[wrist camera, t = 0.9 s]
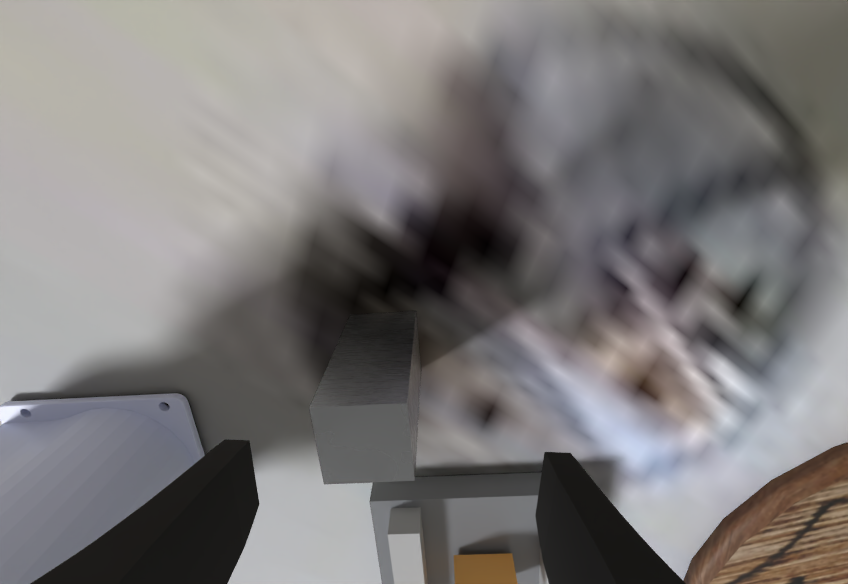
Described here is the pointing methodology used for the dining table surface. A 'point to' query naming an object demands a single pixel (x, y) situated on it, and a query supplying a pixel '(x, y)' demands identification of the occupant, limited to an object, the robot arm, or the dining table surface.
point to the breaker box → (456, 525)
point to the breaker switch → (484, 569)
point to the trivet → (784, 530)
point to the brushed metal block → (370, 401)
